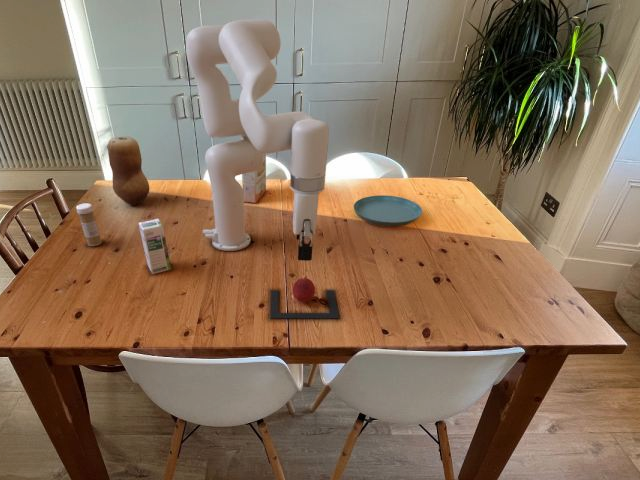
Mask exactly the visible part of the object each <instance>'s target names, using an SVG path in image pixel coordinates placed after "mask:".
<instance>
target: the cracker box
mask: <svg viewBox="0 0 640 480" xmlns="http://www.w3.org/2000/svg"><path fill="white" fill-rule="evenodd" d="M241 177H242V178H241V183H242V184H241V187H242V189H243V197H244V203H250V204H257V202H258V201H259V200H261V198H262V197H263V195H264V194H265V193H266V192H267V154H265V153H264V161H263V165H262V167H261V168H260V169H259V170H257V171H253V172H249V173H245V174H241Z"/></svg>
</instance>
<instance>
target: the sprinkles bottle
mask: <svg viewBox="0 0 640 480" xmlns="http://www.w3.org/2000/svg"><path fill="white" fill-rule="evenodd" d="M75 208H76V212H77V214H78V216H79V220H80V224H81V227H82V231H83V234H84V237H85V240H86V243H87V246H88V247H91V248H93V247H97V246H100V245H102V243H103V240H102V238H101V235H100V231H99V227H98V224H97V221H96V218H95V215H94V208H93V205H92V204H91V203H87V202H86V203H85V202H84V203H80V204H78V205H76V207H75Z"/></svg>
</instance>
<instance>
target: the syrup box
mask: <svg viewBox="0 0 640 480" xmlns="http://www.w3.org/2000/svg"><path fill="white" fill-rule="evenodd" d="M138 228H139V232H140V237H141V240H142V241H141V242H142V246H143V250H144V255H145V259H146V265H147V267H148V269H149V270H150V273H151V274H152V275H155V274H159V273H162V272H163V273H164V272H166V271H171V270H172V265H171V260H170V256H169V250H168V245H167V240H166V234H165V229H164V225H163V223H162V222H161V220H160V219H159V218H155V219H151V220H146V221H140V222H138Z"/></svg>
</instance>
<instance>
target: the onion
mask: <svg viewBox="0 0 640 480" xmlns="http://www.w3.org/2000/svg"><path fill="white" fill-rule="evenodd" d="M291 292H292V295H293V297H294V298H295V299H296V301H298V302H300V303H306V302H309V301H310V300H311V299H313V298H314V297H315V295H316V294H315V293H316V286H315V284H314V282H313V281H312V280H311V279H309V278H308V275H306V274H304V275H302V277H301V278H298V279H297V280H296V281H295V282H294V283H293V286H292V291H291Z"/></svg>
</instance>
